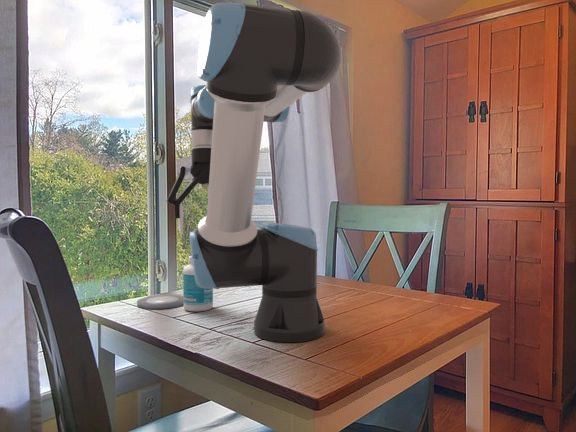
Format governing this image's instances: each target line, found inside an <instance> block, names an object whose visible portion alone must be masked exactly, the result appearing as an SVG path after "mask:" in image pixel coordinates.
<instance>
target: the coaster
mask: <svg viewBox="0 0 576 432" xmlns="http://www.w3.org/2000/svg"><path fill="white" fill-rule="evenodd" d="M136 306H137V307H138V308H139V309H145V310H167V309H169V310H170V309H174V308H179V307H184V303H183V295H179V294H157V295H151V296H150V295H149V296H146V297H141V298H140V299H138V300H137V301H136Z"/></svg>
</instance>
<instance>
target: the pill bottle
mask: <svg viewBox="0 0 576 432" xmlns="http://www.w3.org/2000/svg"><path fill="white" fill-rule="evenodd" d="M187 261H188V263H189V264H187V265H185V266H184V267H183V269H182V272H183V273H182V275H183V276H182V278H183V279H182V280H183V281H182V284H183V286H182V287H183V288H182V289H183V293H182V294H183V295H182V296H183V303H184V305H183V309H184V310H185V311H188V312H206V311H210V310H211V309H212V308H213V305H214V289H205V288H200V287H199V286H198V285H197V284H196V281H195V276H194V270H193V263H192V256H191V255H189V256H188V260H187Z"/></svg>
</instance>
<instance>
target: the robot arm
mask: <svg viewBox="0 0 576 432" xmlns="http://www.w3.org/2000/svg"><path fill="white" fill-rule="evenodd" d="M198 43H199V44H198V51H197V52H198V53H197V56H198V58H197V64H196V65H197V69H196V70H197V75H198V78H199V79H200V80H202V81H204V82H206V83H205V84H200V85H196V86H193V87H192V88H191V90H190V100H189V103H190V119H191V120H190V121H191V130H190V131H191V134H190V135H191V136H190V137H191V139H190V140H191V142H190V143H191V147H193V148H192V149H191V166H190V167H186V166H179V168H178V175H177V178H176V180H175V181H174V184H173V186H172V188H171V190H170V191H169V194H168V196H167V198H166V203H167V204H170V205H173V216H174V219H177V220H178V221H177V222H178V225H177V226H178V232H181V233H182V232H183V233H184V206H183V205H181V203H182V202H183V201H184V200H185V199H186V197H188V195H189V194H190V193H191V192H192V190H193V189H194V188H195V187H196V186H197V184H198V185H208V190H207V191H208V192H207V193H208V194H207V205H206V207H207V208H206V215H205V216H204V217H202V218H201V219H200V220H199V223H198V225H197V230H195V229H194V230H193V231H190V232H189V235H188V236H189V246H190V254H191V255H190V256H192V263H193V270H194V276H195V281H196V284H197V285H198V286H199V287H200V288H205V289H213V290H214V289H215V290H219V289H227V288H238V287H241V288H242V287H256V286H257V287H258V286H261V288H262V289H261V291H262V293H261V299H260V303H259V305H258V309H257V312H256V315H255V319H254V323H253V324H254V326H253V327H254V328H253V329H254V331H253V332H254V335H255V336H256V337H258V338H260V339H263V340H266V341H271V342H278V343H300V342H301V343H302V342H308V341H313V340H316V339H319V338H320V337H322V336H324V335H325V333H326V328H325V327H326V322H325V318H324V314H323V313H322V312H323V311H322V309H321V306H320V303H319V300H318V296H317V294H318V292H317V287H318V284H317V283H318V281H317V279H318V278H317V276H318V275H317V274H318V273H317V272H318V270H317V269H318V268H317V267H318V251H319V250H318V245H317V243H318V242H317V233H316V232H315V230H314V229H313V228H310V227H306V226H302V225H296V224H295V225H294V224H286V223H277V222H266V221H264V222H263V223H262V224H261V226H260V229H258V226H257V224H256V223H255V222H254V221H253V219H252V216H253V215H252V214H253V209H254V200H255V192H256V184H257V177H258V168H259V160H260V159H259V158H260V154H261V153H260V152H261V151H260V150H261V145H262V144H261V143H262V137H263V136H262V135H263V130H264V129H263V127H264V123H270V124H273V123H282V122H283V123H284V122H285V121H286V120H287V118H288V117H289V113H290V106H291V105H293V104H294V103H295V102H297V100H299V99H300V98H302V97H303V96H304V95H306V94H307V93H315V92H318V91H320V90H321V89H323V88H324V87H327V85H329V83H331V82H332V81H333V80H334V78H335V77H336V75H337V73H338V71H339V70H340V65H341V62H342V61H341V60H342V51H341V50H342V49H341V45H340V42H339V39H338V37H337V34H336V33H335V31H334V30H333V28H332V27H331V26H330V25H329V24H328V23H327V22H326V21H325V20H323V19H322V18H321V17H320V16H318V15H316V14H313V13H311V12H309V11H306V10H301V9H299V10H298V9H289V8H288V9H287V8H279V7H271V6H263V5H257V4H256V5H255V4H250V3H249V4H248V3H243V2H216V3H214V4H213V5H211V6H210V7H209V9H208V11H207V13H206V15H205V17H204V21H203V25H202V28H201V33H200V39H199V42H198ZM189 173H190V174H191V175H192V177H193V178H192V179H191V180H190V182H189V183H188V185H187V186H186V187H185V188H184V189H183V190H182V191H181V192H180V194H179V195H178V196H177V198H175V197H176V195H177V194H178V191H179V189H180V188H181V185H182V183H183V181H184V179H185V177H186V176H187V175H189Z"/></svg>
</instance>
